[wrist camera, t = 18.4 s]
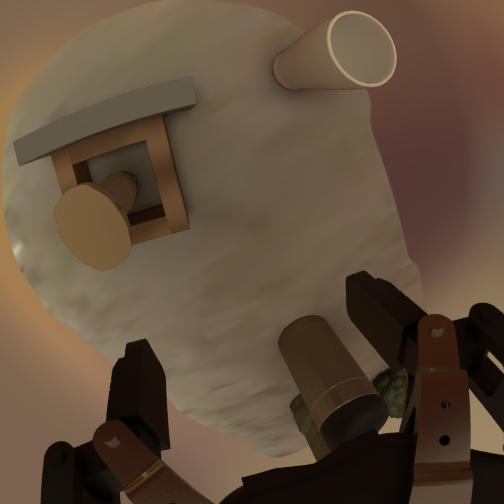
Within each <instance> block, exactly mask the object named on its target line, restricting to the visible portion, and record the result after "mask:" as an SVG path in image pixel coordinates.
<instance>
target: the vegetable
mask: <svg viewBox="0 0 504 504" xmlns="http://www.w3.org/2000/svg"><path fill="white" fill-rule="evenodd" d="M406 376H407V371H404V370H402V369H401V370H400V371H398V372H396V373H394V372H393V370H392V371H391V372H390V374H389V375H388V374H386V375H382V377H381V378H380V379H378V381H377V384H376V390H377V392H378V393H379V394H380V396H381V397H382V399H383V400H384V402H385V403H386V404H387V406H388V409H389V416H390V417H391V418H393V417H395V418H397V419H398V418H402V417H403V409H404V399H405V388H406Z"/></svg>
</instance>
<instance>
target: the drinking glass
mask: <svg viewBox="0 0 504 504" xmlns="http://www.w3.org/2000/svg"><path fill="white" fill-rule="evenodd" d="M396 60H397V59H396V50H395V46H394V43H393V40H392V38H391V37H390V35H389V33H388V31H387V30H386V29H385V28H384V27H383V25H382V24H381V23H379V22H378V21H377V20H376V19H374V18H373V17H371V16H370V15H367V14H365V13H362V12H358V11H346V12H342V13H340V14H337V15H335V16H332V17H330V18H328V19H326V20H324V21H322V22H320V23H319V24H317V25H315V26H314V27H313V28H311V29H310V30H309V31H307V32H306V33H305V34H304V35H302V36H301V37H300V38H299V39H298V40H297V41H295V42H294V43H293V44H292V45H291V46H289V47H288V48H287V49H286V50H284V51H283V52H281V53H280V54H279V55H278V56H277V57H276V58H275V60H274V63H273V73H274V76H275V78H276V80H277V81H278V82H279V83H280V84H281V85H282V86H283V87H285V88H287V89H290V90H304V89H321V90H356V89H364V88H371V87H377V86H380V85H382V84H384V83H386V82H387V81H388V80H389V79H390V78H391V76H392V75H393V73H394V71H395V67H396Z"/></svg>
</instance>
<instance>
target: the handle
mask: <svg viewBox="0 0 504 504" xmlns="http://www.w3.org/2000/svg"><path fill="white" fill-rule="evenodd" d="M136 194H137V186H136V178H135V176H133V175H129V174H126V173H125V172H124V171H122V172H119V173H116V174H113V175H111V176H109V177H108V178H106V179H105V180H104V181H103V182H102V183H101V184H100V185H99V186H98V185H96V184H94V183H92V182H84V183H80V184H78V185H76V186H74V187H72V188H71V189H70V190H68V191H67V192H65V193H64V194H63V195H62V196H61V198H60V199H59V200H58V202H57V204H56V206H55V209H54V218H55V222H56V226H57V229H58V232H59V235H60V237H61V239H62V241H63V242H64V244H65V245H66V246H67V247H68V249H69V250H70V251H71V252H72V254H73V255H74V256H75V257H76V258H77V259H78V260H80V261H81V262H83V263H85V264H86V265H88V266H90V267H92V268H94V269H96V270H98V271H104V270H109V269H112V268H114V267H116V266H118V265H119V264H120V263H122V262H123V261H124V260H125V259H126V257H127V256H128V254H129V252H130V250H131V247H132V244H133V237H132V232H131V227H130V223H129V220H128V216H127V213H128V212H129V210H130V209H131V207H132V206H133V204H134V201H135V198H136Z"/></svg>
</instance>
